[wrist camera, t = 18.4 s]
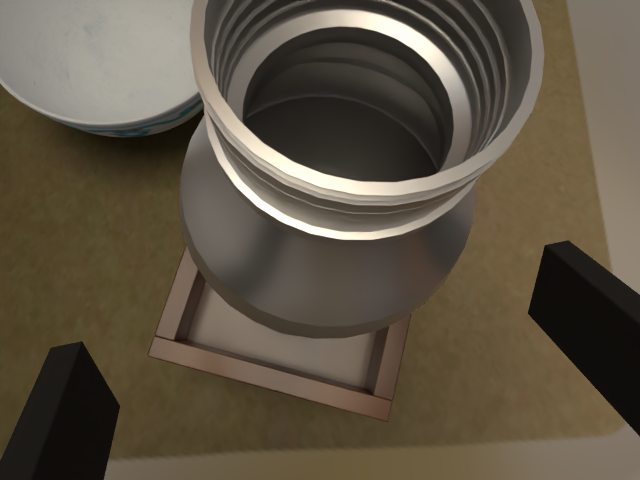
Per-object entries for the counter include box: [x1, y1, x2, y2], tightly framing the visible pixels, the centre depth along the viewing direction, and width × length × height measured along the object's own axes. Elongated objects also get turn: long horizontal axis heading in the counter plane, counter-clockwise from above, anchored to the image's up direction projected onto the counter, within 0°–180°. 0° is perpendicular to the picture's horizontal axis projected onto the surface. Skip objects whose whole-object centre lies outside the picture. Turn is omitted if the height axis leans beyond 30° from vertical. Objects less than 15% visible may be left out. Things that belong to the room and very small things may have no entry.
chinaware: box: [0, 0, 204, 137], centre depth 28 cm, size 15×15×8 cm
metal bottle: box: [178, 0, 544, 339], centre depth 14 cm, size 6×7×20 cm
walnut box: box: [148, 245, 411, 422], centre depth 25 cm, size 12×12×8 cm
